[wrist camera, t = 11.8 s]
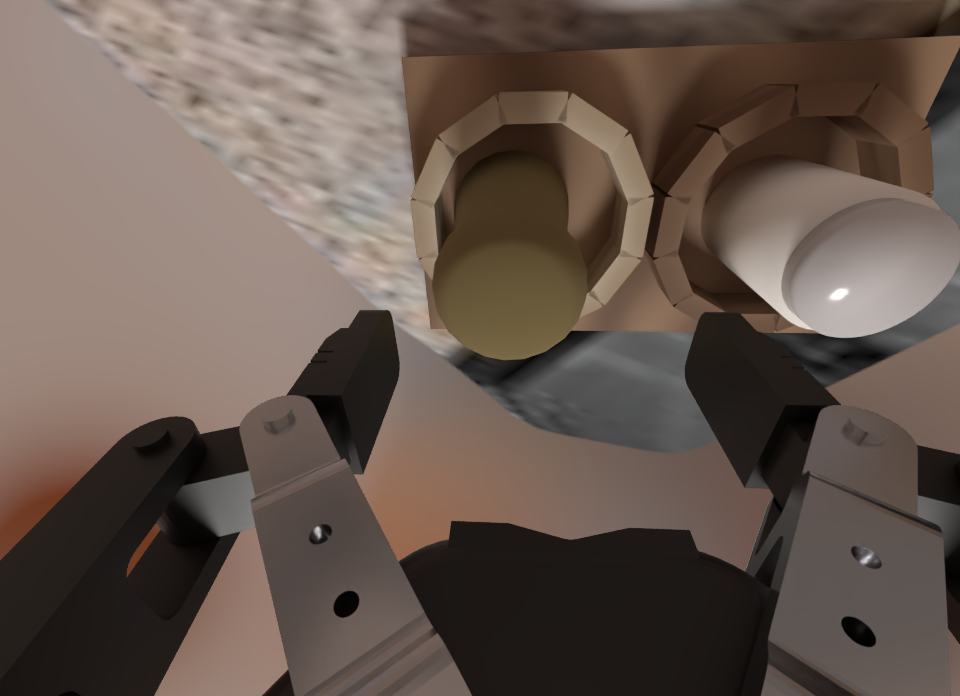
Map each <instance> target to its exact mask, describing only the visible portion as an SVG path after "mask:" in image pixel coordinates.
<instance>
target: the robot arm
mask: <svg viewBox="0 0 960 696" xmlns="http://www.w3.org/2000/svg"><path fill="white" fill-rule="evenodd" d="M398 377H399V356H398V350H397V344H396V337H395V331H394V326H393V320H392V316H391V313H390V311H388V310H361V311H359V312H358V314H357V315H356V317H355V319H354V320H353V322H352V323H351V325H350V326H349V328H340V329H339V330H338V331H336V332H335V333H333V334H332V335H331V336H329V337H328V338H326V340H325V341H324V342H323V344H322V345H321V346H320V348H319V349H318V353H316V354H315V355H314V357H313V358H312V359H311V363H309V364H308V365H307V367H306V368H305V369H304V371H303V372H302V374H301V375H300V377H299V378H298V379H297V381H296V382H295V384H294V385H293V387H292V388H291V389H290V391H289V392H288V394H287V395H286V396H281V397H277V398H273V399H271V400H268V401H266V402H264V403H262V404H260V405H258V406H257V407H255V408H254V409H252V410H251V411H250V412H249V413H248V414H247V415H246V416H245V417H244V419H243V420H242V422H241V424H240V426H238V427H233V428H229V429H224V430H219V431H214V432H209V433H204V434H200V433H199V431H198V429H197V428H196V426H195V424H194V422H193V421H192V420H191V419H188V418H186V417H177V416H176V417H167V418H162V419H158V420H155V421H152V422H149V423H147V424H144V425H142V426H140V427H138V428H136V429H135V430H133V431H131V432H130V433H128V434H127V435H125V436H124V437H123V438H121V439H120V440H119V441H118V442H117V443H116V444H115V445H114V446H113V447H112V448H111V449H110V450H109V451H108V452H107V453H106V454H105V455H104V456H103V457H102V458H101V459H100V460H99V461H98V462H97V464H95V465H94V466H93V467H92V468H91V469H90V470H89V471H88V472H87V473H86V474H85V475H84V476H83V477H82V478H81V479H80V481H78V482H77V484H75V485H74V487H72V489H71V490H70V491H69V492H68V493H67V494H66V495H65V496H64V497H63V498H62V499H61V500H60V501H59V502H58V503H57V504H56V505H55V506H54V507H53V508H52V509H51V510H50V511H49V512H48V513H47V514H46V515H45V516H44V517H43V518H42V519H41V520H40V521H39V522H38V523H37V524H36V525H35V526H34V527H33V528H32V529H31V530H30V531H29V532H28V533H27V534H26V535H25V536H24V537H23V538H22V539H21V540H20V541H19V542H18V543H17V544H16V545H15V546H14V547H13V548H12V549H11V550H10V551H9V553H7V554H6V555H5V556H4V557H3V558H2V559H1V560H0V696H154V695H155V693H156V691H157V689H158V687H159V685H160V683H161V681H162V680H163V678H164V676H165V674H166V672H167V670H168V668H169V666H170V664H171V662H172V661H173V659H174V657H175V655H176V653H177V651H178V649H179V647H180V645H181V643H182V642H183V640H184V638H185V636H186V634H187V632H188V630H189V628H190V626H191V624H192V622H193V621H194V619H195V617H196V615H197V613H198V611H199V609H200V607H201V605H202V603H203V602H204V600H205V598H206V596H207V594H208V592H209V590H210V588H211V586H212V585H213V583H214V580H215V579H216V577H217V575H218V573H219V571H220V569H221V567H222V565H223V564H224V562H225V560H226V558H227V556H228V554H229V552H230V550H231V548H232V546H233V545H234V543H235V541H236V539H237V537H238V535H239V533H240V531H244V530H247V529H252V528H256V530H257V535H258V539H259V543H260V548H261V551H262V556H263V561H264V565H265V569H266V574H267V578H268V582H269V586H270V591H271V595H272V599H273V604H274V608H275V613H276V617H277V621H278V626H279V630H280V634H281V638H282V642H283V647H284V651H285V656H286V660H287V665H288V668H289V669H288V670H287V671H286V672H285V673H284V674H283V675H282V676H281V677H280V678H279V679H278V680H277V681H276V682H275V683H274V684H273V685H272V686H271V687H270V688H269V689H268V690H267V691H266V692H265V693H264V694H263V695H262V696H951V679H950V660H949V642H948V641H949V640H948V629H949V630H950V632H951V633H952V634H953V636H954V637H955V638H956V640H957V641H958V642H959V644H960V454H955V453H950V452H946V451H942V450H937V449H932V448H928V447H923V446H918V445H917V444H916V442H915V440H914V439H913V438H912V436H911V435H910V434H909V433H908V432H907V431H906V430H904V429H903V428H902V427H900V426H899V425H898V424H896V423H894V422H893V421H891V420H889V419H887V418H885V417H883V416H881V415H879V414H877V413H874V412H871V411H869V410H865V409H861V408H857V407H853V406H846V405H841V404H840V403H839V402H838V401H837V400H836V399H835V398H834V397H833V396H832V395H831V394H830V393H829V392H828V391H827V390H826V389H825V388H824V387H823V386H822V385H821V384H820V383H819V382H818V381H817V380H816V379H815V378H814V377H813V376H812V375H811V374H810V373H809V372H808V371H807V370H804V367H803V366H802V365H801V364H800V363H799V362H798V361H797V360H796V359H793V356H792V355H791V354H790V353H789V352H788V351H787V350H786V349H785V348H784V347H783V346H782V345H781V344H780V343H779V342H777V341H775V340H774V339H772V338H770V337H768V336H767V335H765V334H763V333H761V332H757V331H756V330H755V329H754V328H753V327H752V325H751V324H750V323H749V322H748V321H747V320H746V319H745V318H744V317H743V316H742V315H741V314H740V313H738V312H704V313H703V314H702V315H701V316H700V318H699V320H698V323H697V327H696V330H695V334H694V337H693V340H692V344H691V347H690V350H689V354H688V357H687V361H686V365H685V379H686V383H687V386H688V388H689V390H690V391H691V393H692V395H693V397H694V399H695V400H696V402H697V404H698V406H699V407H700V409H701V411H702V413H703V415H704V416H705V418H706V420H707V422H708V423H709V425H710V427H711V429H712V431H713V432H714V434H715V436H716V438H717V439H718V441H719V443H720V445H721V447H722V448H723V450H724V452H725V454H726V455H727V457H728V459H729V461H730V463H731V464H732V466H733V468H734V470H735V471H736V473H737V475H738V477H739V478H740V480H741V482H742V484H743V486H744V487H745V488H764V489H770V490H771V492H772V494H773V497H772V498H771V500H770V502H769V504H768V506H767V508H766V511H765V515H764V518H763V521H762V523H761V526H760V530H759V533H758V535H757V538H756V542H755V544H754V547H753V550H752V553H751V556H750V559H749V562H748V565H747V568H746V570H745V572H744V571H743V570H741V569H739V568H737V567H736V566H734V565H732V564H730V563H728V562H725V561H723V560H721V559H719V558H717V557H714V556H711V555H708V554H706V553H703V552H699V551H698V550H697V548H696V545H695V543H694V540H693V537H692V535H691V532H690V531H689V530H671V529H669V530H668V529H644V528H627V529H622V530H617V531H613V532H608V533H603V534H598V535H594V536H589V537H584V538H580V539H574V540H568V539H563V538H559V537H556V536H552V535H549V534H545V533H541V532H538V531H534V530H530V529H527V528H524V527H520V526H516V525H513V524H509V523H490V522H464V521H452V522H451V529H450V536H449V539H448V540H444V541H440V542H437V543H434V544H431V545H428V546H425V547H423V548H421V549H419V550H417V551H415V552H413V553H411V554H410V555H408V556H406V557H405V558H403V559H402V560H400V561H399V562H398V560H397V558H396V556H395V554H394V552H393V550H392V548H391V546H390V544H389V542H388V541H387V538H386V536H385V534H384V532H383V531H382V529H381V527H380V525H379V523H378V521H377V519H376V517H375V515H374V513H373V511H372V509H371V507H370V505H369V503H368V501H367V499H366V498H365V496H364V494H363V492H362V490H361V488H360V486H359V484H358V482H357V480H356V478H355V476H354V474H363V473H364V470H365V468H366V465H367V463H368V460H369V457H370V454H371V451H372V449H373V446H374V444H375V441H376V438H377V435H378V433H379V430H380V427H381V425H382V422H383V419H384V416H385V414H386V411H387V409H388V406H389V403H390V400H391V398H392V395H393V392H394V389H395V387H396V384H397V381H398ZM155 523H156V524H157V525H158V526H159V527H160V529H161V530H160V531H159V533H158V534H157V536H156V537H155V538H154V540H153V541H152V543H151V544H150V546H149V547H148V548H147V550H146V551H145V553H144V554H143V555H142V557H141V558H140V560H139V561H138V562H137V564H136V565H135V567H134V568H133V570H132V571H131V572H130V574H129V575H128V577H127V576H126V575H127V568H128V564H129V562H130V559H131V557H132V555H133V554H134V552H135V551H136V549H137V548H138V547H139V545H140V544H141V542H142V541H143V540H144V538H145V537H146V536H147V534H148V533H149V531H150V530H151V529H152V527H153V526H154V525H155Z"/></svg>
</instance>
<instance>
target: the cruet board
mask: <svg viewBox="0 0 960 696" xmlns="http://www.w3.org/2000/svg"><path fill="white" fill-rule="evenodd" d="M959 47H960V36H944V37H918V38H892V39H866V40H840V41H813V42H787V43H761V44H735V45H709V46H683V47H657V48H631V49H605V50H579V51H553V52H527V53H501V54H475V55H449V56H423V57H402V64H403V74H404V83H405V93H406V102H407V111H408V121H409V130H410V139H411V149H412V158H413V167H414V177H415V189H414V191H413V193H412V195H411V197H412V199H411V200H410V201H411V210H412V219H413V228H414V236H415V245H416V254H417V258H419V260H418V261H419V263H420V264H421V266H422V267H423V268H424V271H425V280H426V289H427V299H428V308H429V317H430V327H431V329H446V327H445V325H444V323H443V322H442V320H441V318H440V317H439V315H438V313H437V309H436V304H435V299H434V295H433V289H432V280H433V272H434V264H435V261H436V259H437V257H438V255H439V253H440V251H441V249H442V247H443V245H444V243H445V241H446V239H447V237H448V236H449V235H450V234H451V233H452V232H453V231H454V207H455V200H456V193H457V190H458V188H459V186H460V184H461V182H462V180H463V178H464V176H465V175H466V174H467V173H468V172H469V171H470V170H471V168H472V167H473V166H474V165H475V164H476V163H477V162H478V161H480V160H482V159H484V158H486V157H488V156H490V155H492V154H494V153H496V152H504V151H511V150H517V151H522V152H527V153H532V154H535V155H536V156H538V157H540V158H541V159H543V160H544V161H546V162H548V163H549V164H551V166H552V167H553V168H554V169H555V171H556V172H557V173H558V174H559V176H560V177H561V178H562V180H563V183H564V186H565V189H566V191H567V194H568V203H569V219H568V232H569V233H570V235H571V236H572V237H573V238H574V239H575V240H576V242H577V244H578V246H579V249H580V251H581V254H582V257H583V260H584V262H585V265H586V268H587V296H586V300H585V303H584V306H583V309H582V312H581V314H580V317H579V320H578V322H577V323H576V324H575V325H574V327H573V328H572V329H571V330H579V331H672V332H695V330H696V327H697V323H698V320H699V318H700V316H701V315H702V314H703V313H704V312H738V313H740V314H741V315H742V316H743V317H744V318H745V319H746V320H747V321H748V322H749V323H750V324H751V325H752V327H753V328H754V329H755V330H756V331H757V332H761V333H818V332H816V331H814V330H809V329H805V328H802V327H799V326H797V325H795V324H793V323H791V322H790V321H788V320H787V319H785V318H784V317H783V316H782V315H781V314H780V313H779V312H778V311H776V310H775V309H774V308H773V307H772V306H771V305H770V304H769V303H767V302H766V301H765V300H764V299H763V298H762V297H761V296H759V295H758V294H757V293H756V292H755V291H754V290H753V289H752V288H750V287H749V286H748V285H747V284H746V283H745V282H744V281H743V280H741V279H740V278H739V277H738V276H737V275H736V274H735V273H734V272H732V271H731V270H730V269H729V268H728V267H727V266H726V265H724V264H723V263H722V262H721V261H720V260H719V259H718V258H717V257H715V256H714V255H713V254H712V253H711V252H710V251H709V250H708V248H707V247H706V245H705V243H704V241H703V238H702V234H701V218H702V213H703V210H704V207H705V204H706V202H707V200H708V198H709V196H710V195H711V193H712V192H713V190H714V189H715V188H716V186H717V185H718V184H719V183H720V182H721V181H722V180H723V179H724V178H725V177H726V176H727V175H728V174H729V173H731V172H732V171H733V170H735V169H736V168H738V167H739V166H741V165H743V164H744V163H746V162H749V161H751V160H753V159H756V158H759V157H763V156H768V155H787V156H792V157H795V158H799V159H802V160H806V161H810V162H813V163H817V164H820V165H824V166H827V167H831V168H835V169H838V170H842V171H845V172H849V173H853V174H856V175H860V176H863V177H867V178H870V179H874V180H878V181H881V182H885V183H888V184H892V185H895V186H899V187H903V188H906V189H910V190H913V191H916V192H919V193H922V194H924V195H926V196H927V197H929V198H931V197H932V195H933V194H931V193H928V192H931V191H933V190H934V182H933V164H932V147H931V130H930V126H926V125H927V124H928V122H927V121H925V118H926V116H927V113H928V111H929V109H930V107H931V105H932V103H933V101H934V99H935V97H936V95H937V93H938V91H939V89H940V87H941V85H942V82H943V80H944V78H945V76H946V74H947V72H948V70H949V68H950V66H951V64H952V62H953V60H954V58H955V56H956V53H957V51H958V49H959Z"/></svg>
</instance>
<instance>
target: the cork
mask: <svg viewBox="0 0 960 696" xmlns="http://www.w3.org/2000/svg"><path fill="white" fill-rule="evenodd" d="M568 219H569V203H568V194H567V191H566V189H565V186H564V183H563V180H562V178H561V177H560V176H559V174H558V173H557V172H556V171H555V169H554V168H553V167H552V166H551V164H549V163H548V162H546V161H544V160H543V159H541V158H540V157H538V156H536V155H535V154H532V153H527V152H522V151H517V150H511V151H504V152H496V153H494V154H492V155H490V156H488V157H486V158H484V159H482V160H480V161H478V162H477V163H476V164H475V165H474V166H473V167H472V168H471V170H470V171H469V172H468V173H467V174H466V175H465V176H464V178H463V180H462V182H461V184H460V186H459V188H458V190H457V193H456V200H455V207H454V231H453V232H452V233H451V234H450V235H449V236H448V237H447V239H446V241H445V243H444V245H443V247H442V249H441V251H440V253H439V255H438V257H437V259H436V261H435V264H434V272H433V280H432V289H433V295H434V299H435V304H436V309H437V313H438V315H439V317H440V318H441V320H442V322H443V323H444V325H445V327H446V329H447V330H448V332H449V333H450V334H452V335H453V336H454V337H455V338H456V339H457V340H458V341H459V342H460V343H462V344H463V345H464V346H465V347H467V348H469V349H471V350H473V351H475V352H477V353H479V354H481V355H483V356H485V357H491V358H496V359H501V360H514V359H525V358H528V357H531V356H534V355H537V354H540V353H543V352H545V351H547V350H548V349H550V348H551V347H552V346H554V345H555V344H557V343H558V342H560V341H561V340H562V339H564V338H565V337H566V336H567V334H568V333H569V332H570V331H571V329H572V328H573V327H574V325H575V324H576V323H577V322H578V320H579V317H580V314H581V312H582V309H583V306H584V303H585V300H586V296H587V268H586V265H585V262H584V260H583V257H582V254H581V251H580V249H579V246H578V244H577V242H576V240H575V239H574V238H573V237H572V236H571V235H570V233H569V232H568Z"/></svg>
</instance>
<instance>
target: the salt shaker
mask: <svg viewBox="0 0 960 696" xmlns="http://www.w3.org/2000/svg"><path fill="white" fill-rule="evenodd" d="M701 234H702V238H703V241H704V243H705V245H706V247H707V248H708V250H709V251H710V252H711V253H712V254H713V255H714V256H715V257H717V258H718V259H719V260H720V261H721V262H722V263H723V264H724V265H726V266H727V267H728V268H729V269H730V270H731V271H732V272H734V273H735V274H736V275H737V276H738V277H739V278H740V279H741V280H743V281H744V282H745V283H746V284H747V285H748V286H749V287H750V288H752V289H753V290H754V291H755V292H756V293H757V294H758V295H759V296H761V297H762V298H763V299H764V300H765V301H766V302H767V303H769V304H770V305H771V306H772V307H773V308H774V309H775V310H776V311H778V312H779V313H780V314H781V315H782V316H783V317H784V318H785V319H787V320H788V321H790V322H791V323H793V324H795V325H797V326H799V327H802V328H805V329H809V330H814V331H816V332H818V333H820V334H823V335H826V336H831V337H839V338H851V337H860V336H865V335H870V334H874V333H877V332H880V331H883V330H886V329H888V328H891V327H893V326H895V325H897V324H899V323H901V322H903V321H905V320H906V319H908V318H910V317H911V316H913V315H914V314H916V313H917V312H919V311H920V310H922V309H923V308H924V307H925V306H926V305H928V304H929V303H930V302H931V301H932V300H933V299H934V298H935V297H936V296H937V295H938V294H939V293H940V292H941V291H942V290H943V288H944V287H945V286H946V285H947V283H948V282H949V280H950V279H951V278H952V276H953V274H954V272H955V270H956V268H957V266H958V263H959V261H960V230H959V227H958V226H957V224H956V223H955V221H954V220H953V219H952V218H951V217H950V216H949V215H947V214H945V213H944V212H942V211H941V209H940V208H939V206H938V205H937V204H936V203H935V202H934V201H933V200H932V199H931V198H929V197H927V196H926V195H924V194H922V193H919V192H916V191H913V190H910V189H906V188H903V187H899V186H895V185H892V184H888V183H885V182H881V181H878V180H874V179H870V178H867V177H863V176H860V175H856V174H853V173H849V172H845V171H842V170H838V169H835V168H831V167H827V166H824V165H820V164H817V163H813V162H810V161H806V160H802V159H799V158H795V157H792V156H787V155H768V156H763V157H759V158H756V159H753V160H751V161H749V162H746V163H744V164H743V165H741V166H739V167H738V168H736V169H735V170H733V171H732V172H731V173H729V174H728V175H727V176H726V177H725V178H724V179H723V180H722V181H721V182H720V183H719V184H718V185H717V186H716V188H715V189H714V190H713V192H712V193H711V195H710V196H709V198H708V200H707V202H706V204H705V207H704V210H703V213H702V218H701Z"/></svg>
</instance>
